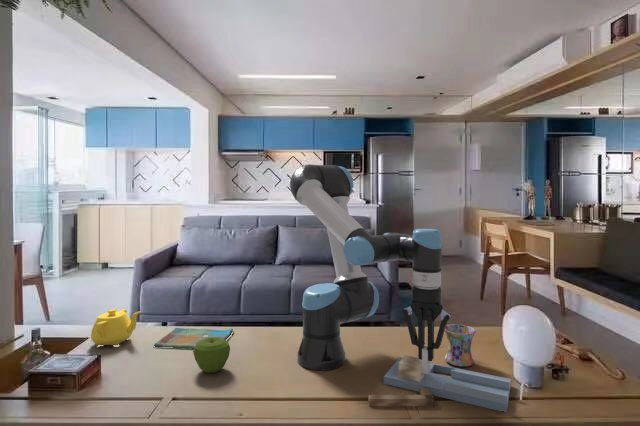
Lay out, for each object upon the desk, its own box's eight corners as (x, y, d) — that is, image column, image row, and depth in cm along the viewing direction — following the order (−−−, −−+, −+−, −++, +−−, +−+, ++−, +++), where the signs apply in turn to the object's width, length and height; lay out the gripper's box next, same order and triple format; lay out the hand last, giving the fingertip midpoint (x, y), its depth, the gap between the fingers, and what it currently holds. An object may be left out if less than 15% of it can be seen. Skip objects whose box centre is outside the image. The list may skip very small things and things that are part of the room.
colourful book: (219, 352, 135) (219, 344, 135) (152, 349, 137) (152, 342, 137) (235, 334, 152) (235, 327, 152) (175, 332, 155) (175, 325, 154)
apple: (186, 371, 120) (186, 338, 119) (217, 360, 127) (216, 329, 127) (206, 382, 112) (205, 347, 112) (237, 370, 120) (237, 337, 120)
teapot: (99, 354, 132) (97, 319, 131) (85, 343, 142) (84, 310, 141) (142, 343, 142) (141, 310, 141) (126, 333, 152) (125, 302, 151)
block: (398, 377, 111) (398, 362, 111) (404, 368, 116) (404, 355, 116) (420, 381, 108) (420, 367, 108) (425, 373, 113) (425, 359, 113)
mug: (477, 370, 120) (478, 335, 119) (445, 367, 122) (445, 333, 121) (470, 354, 132) (471, 322, 131) (440, 352, 133) (441, 320, 133)
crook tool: (369, 406, 100) (369, 398, 100) (366, 394, 106) (366, 387, 106) (433, 406, 100) (433, 398, 100) (427, 394, 106) (427, 387, 106)
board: (383, 383, 112) (383, 369, 111) (400, 363, 125) (400, 350, 125) (506, 412, 97) (507, 396, 97) (510, 386, 110) (511, 371, 110)
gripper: (399, 286, 109) (398, 371, 110) (448, 291, 103) (447, 382, 104) (407, 280, 116) (406, 361, 117) (454, 285, 109) (452, 371, 111)
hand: (425, 371), depth 110 cm, fingers closed
